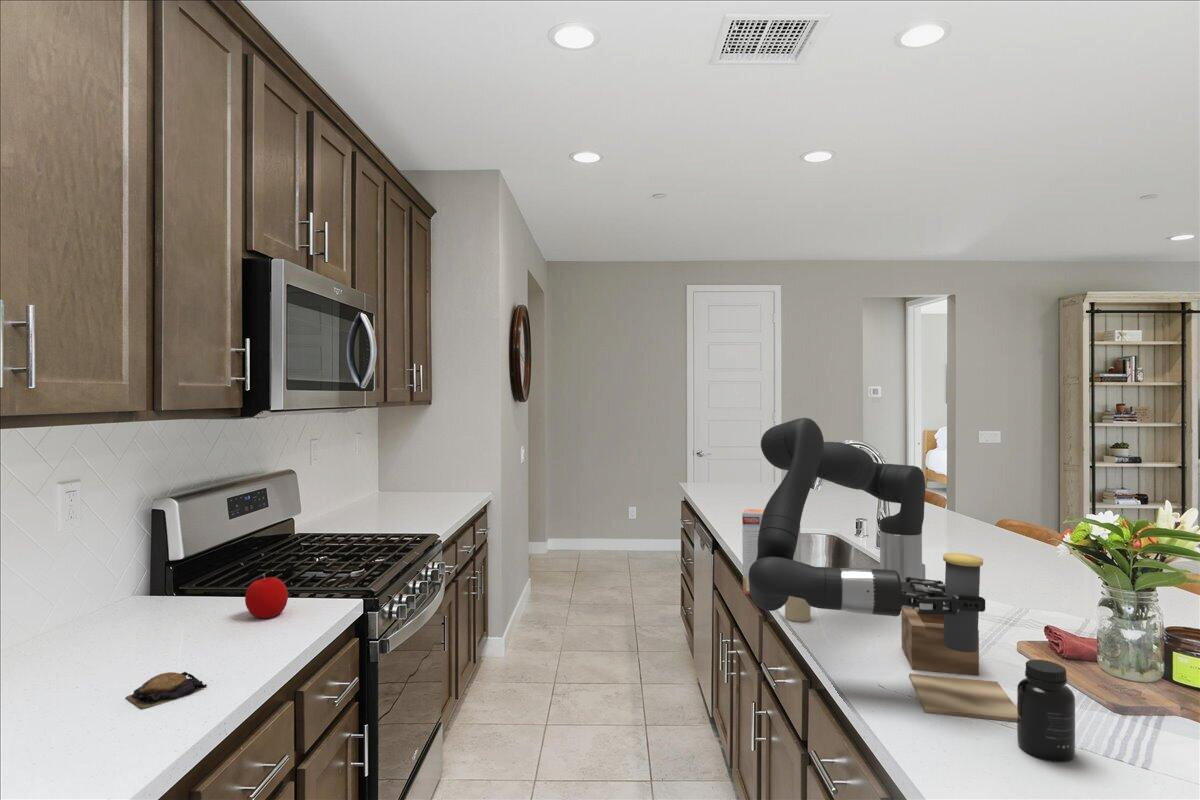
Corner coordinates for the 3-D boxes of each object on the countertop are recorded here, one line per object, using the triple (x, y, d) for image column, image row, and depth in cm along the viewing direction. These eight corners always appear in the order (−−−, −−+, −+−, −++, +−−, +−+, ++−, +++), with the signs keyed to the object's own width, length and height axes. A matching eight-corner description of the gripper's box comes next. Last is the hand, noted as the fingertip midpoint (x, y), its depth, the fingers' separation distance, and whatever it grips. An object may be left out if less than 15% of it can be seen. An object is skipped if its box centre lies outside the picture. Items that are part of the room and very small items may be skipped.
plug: (958, 638, 116) (961, 552, 115) (988, 651, 110) (991, 560, 110) (932, 642, 114) (935, 553, 113) (961, 655, 108) (964, 562, 108)
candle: (811, 623, 149) (811, 577, 149) (785, 621, 150) (785, 576, 150) (809, 615, 155) (809, 571, 155) (784, 613, 156) (784, 570, 156)
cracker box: (801, 593, 172) (801, 510, 172) (800, 599, 166) (799, 514, 166) (745, 588, 177) (744, 507, 176) (742, 594, 171) (741, 511, 171)
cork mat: (908, 676, 120) (908, 673, 120) (997, 685, 117) (997, 681, 117) (925, 712, 107) (925, 708, 107) (1025, 722, 103) (1025, 719, 103)
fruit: (238, 616, 156) (238, 572, 156) (279, 607, 163) (278, 565, 163) (254, 625, 150) (253, 580, 150) (295, 615, 157) (295, 572, 156)
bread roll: (141, 714, 109) (141, 692, 109) (122, 700, 114) (122, 678, 114) (212, 691, 117) (211, 670, 117) (191, 679, 123) (191, 658, 123)
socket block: (901, 647, 134) (901, 607, 134) (962, 652, 132) (962, 611, 132) (911, 669, 124) (911, 625, 124) (978, 675, 121) (978, 630, 121)
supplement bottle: (1006, 739, 99) (1005, 656, 98) (1050, 737, 99) (1050, 655, 99) (1040, 765, 92) (1040, 676, 92) (1087, 762, 92) (1087, 674, 92)
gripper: (874, 580, 109) (993, 588, 104) (864, 559, 122) (968, 566, 118) (874, 626, 109) (992, 637, 104) (863, 601, 122) (968, 609, 118)
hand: (979, 599), depth 111 cm, fingers closed on plug, 5 cm apart
